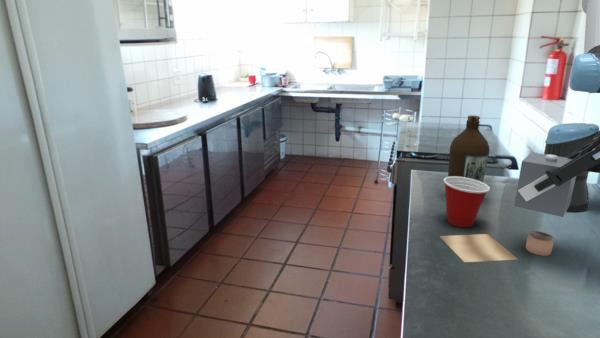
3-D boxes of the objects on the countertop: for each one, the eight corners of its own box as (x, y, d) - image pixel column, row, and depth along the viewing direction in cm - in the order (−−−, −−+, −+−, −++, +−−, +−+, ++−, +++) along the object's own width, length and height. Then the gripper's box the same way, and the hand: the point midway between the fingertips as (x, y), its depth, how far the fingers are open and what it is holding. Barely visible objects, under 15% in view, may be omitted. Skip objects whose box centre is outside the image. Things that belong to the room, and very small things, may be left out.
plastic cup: (487, 238, 99) (495, 191, 95) (440, 233, 101) (446, 187, 97) (478, 219, 109) (485, 176, 105) (436, 216, 111) (441, 173, 107)
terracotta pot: (540, 248, 94) (544, 230, 92) (555, 259, 89) (559, 240, 88) (519, 249, 93) (523, 231, 92) (534, 260, 88) (538, 241, 87)
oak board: (486, 238, 98) (487, 234, 98) (517, 264, 87) (518, 259, 87) (438, 240, 97) (439, 236, 97) (463, 267, 86) (464, 262, 85)
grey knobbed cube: (524, 194, 94) (532, 147, 91) (570, 204, 89) (580, 155, 85) (514, 206, 87) (522, 156, 84) (563, 217, 82) (574, 164, 79)
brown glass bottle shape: (437, 193, 127) (446, 113, 120) (467, 191, 130) (478, 112, 122) (457, 206, 117) (468, 120, 110) (489, 203, 120) (503, 118, 112)
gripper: (654, 155, 66) (527, 220, 80) (655, 133, 82) (549, 190, 96) (621, 119, 67) (503, 188, 82) (628, 104, 83) (527, 164, 98)
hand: (527, 189), depth 89 cm, fingers closed on grey knobbed cube, 9 cm apart
